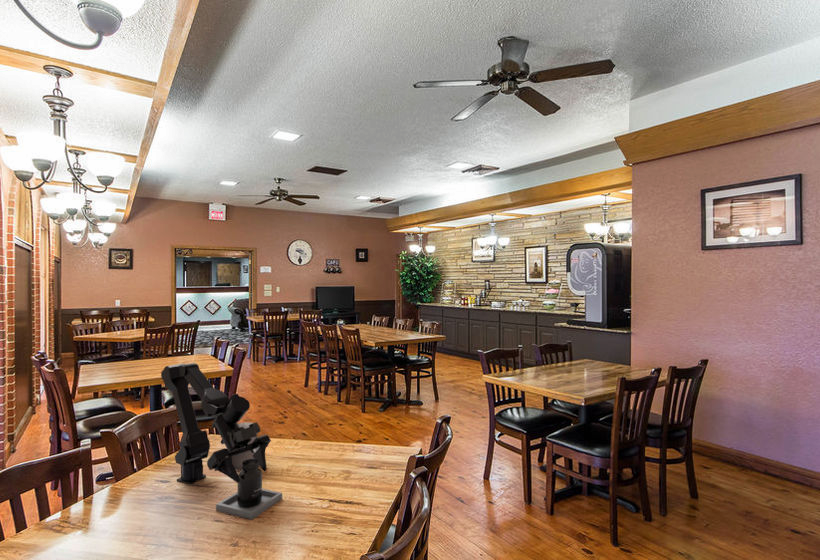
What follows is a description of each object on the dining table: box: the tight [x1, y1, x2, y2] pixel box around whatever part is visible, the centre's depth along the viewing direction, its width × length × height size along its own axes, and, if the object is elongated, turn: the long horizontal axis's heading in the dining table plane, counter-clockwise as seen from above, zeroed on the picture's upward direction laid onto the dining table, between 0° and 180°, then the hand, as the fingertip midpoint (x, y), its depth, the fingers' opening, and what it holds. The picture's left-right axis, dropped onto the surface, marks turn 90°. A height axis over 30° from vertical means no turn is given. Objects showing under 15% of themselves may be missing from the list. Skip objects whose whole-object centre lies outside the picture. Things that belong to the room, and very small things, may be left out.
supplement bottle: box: [237, 459, 263, 508], centre depth 132 cm, size 7×7×12 cm
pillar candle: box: [232, 422, 258, 471], centre depth 161 cm, size 10×10×15 cm
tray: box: [215, 488, 283, 521], centre depth 132 cm, size 13×13×2 cm
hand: (252, 476), depth 131 cm, fingers open, 9 cm apart
